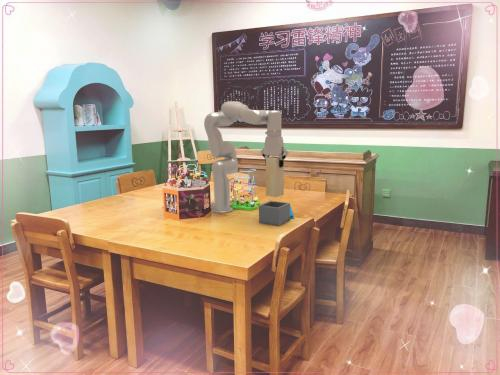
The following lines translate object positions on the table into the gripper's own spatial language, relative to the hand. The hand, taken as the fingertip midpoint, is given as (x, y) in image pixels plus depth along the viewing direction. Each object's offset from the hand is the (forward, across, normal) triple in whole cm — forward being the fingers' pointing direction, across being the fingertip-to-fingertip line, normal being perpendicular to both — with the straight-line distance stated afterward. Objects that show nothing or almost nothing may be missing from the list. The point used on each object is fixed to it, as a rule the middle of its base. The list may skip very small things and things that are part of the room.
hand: (274, 166), depth 224 cm
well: (+31, 0, 0) cm, 31 cm away
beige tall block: (+16, 0, 0) cm, 16 cm away
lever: (+32, -1, +16) cm, 36 cm away
